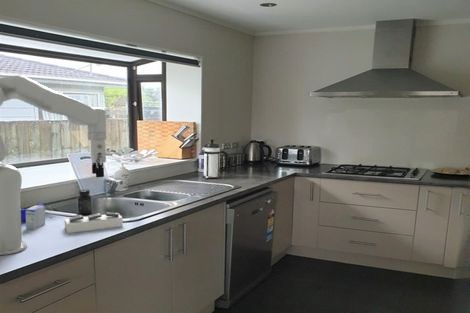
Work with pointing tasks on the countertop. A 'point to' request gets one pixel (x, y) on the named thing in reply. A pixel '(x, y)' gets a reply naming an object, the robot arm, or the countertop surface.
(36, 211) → the medicine box
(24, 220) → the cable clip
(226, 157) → the coffee press
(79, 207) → the supplement bottle
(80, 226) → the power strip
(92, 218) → the rocker middle
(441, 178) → the countertop surface
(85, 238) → the countertop surface
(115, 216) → the rocker outer
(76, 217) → the rocker inner
